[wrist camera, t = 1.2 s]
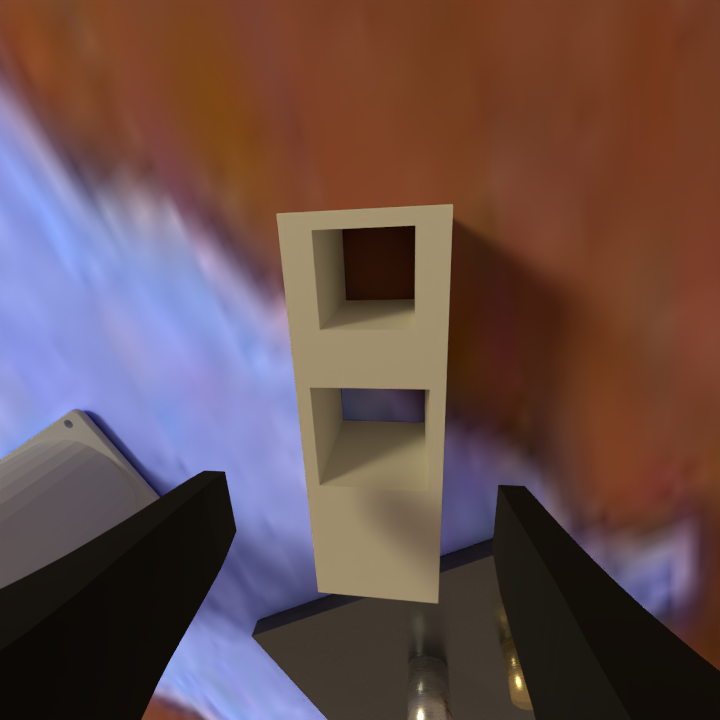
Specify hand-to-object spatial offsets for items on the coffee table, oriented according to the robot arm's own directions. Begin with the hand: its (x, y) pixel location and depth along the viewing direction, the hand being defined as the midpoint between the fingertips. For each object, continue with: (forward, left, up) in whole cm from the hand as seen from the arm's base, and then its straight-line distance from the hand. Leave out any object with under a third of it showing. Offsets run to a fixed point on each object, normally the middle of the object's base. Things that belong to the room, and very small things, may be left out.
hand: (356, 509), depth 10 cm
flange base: (-7, -17, -8) cm, 20 cm away
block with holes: (0, 0, -8) cm, 8 cm away
